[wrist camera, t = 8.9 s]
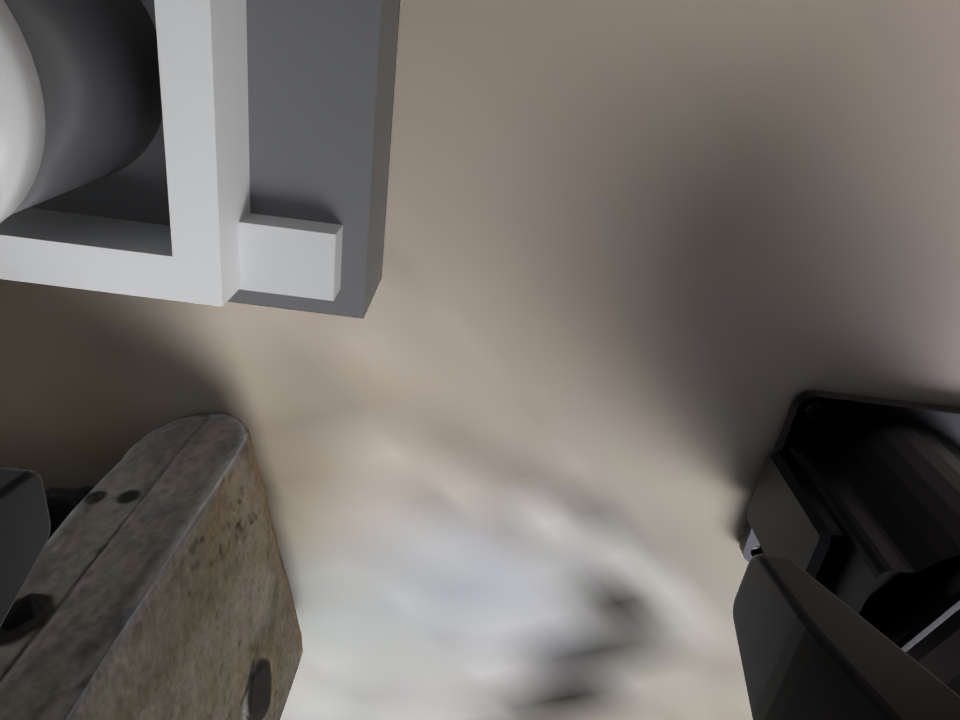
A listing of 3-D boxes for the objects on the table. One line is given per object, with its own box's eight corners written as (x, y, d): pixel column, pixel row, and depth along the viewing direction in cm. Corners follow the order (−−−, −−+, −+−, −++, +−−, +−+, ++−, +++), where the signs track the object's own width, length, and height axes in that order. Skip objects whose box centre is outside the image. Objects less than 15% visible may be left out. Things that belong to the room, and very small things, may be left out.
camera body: (409, -144, 16) (374, -209, 11) (381, 277, 20) (348, 353, 15) (-235, -240, 15) (-546, -349, 11) (-118, 214, 19) (-303, 273, 15)
